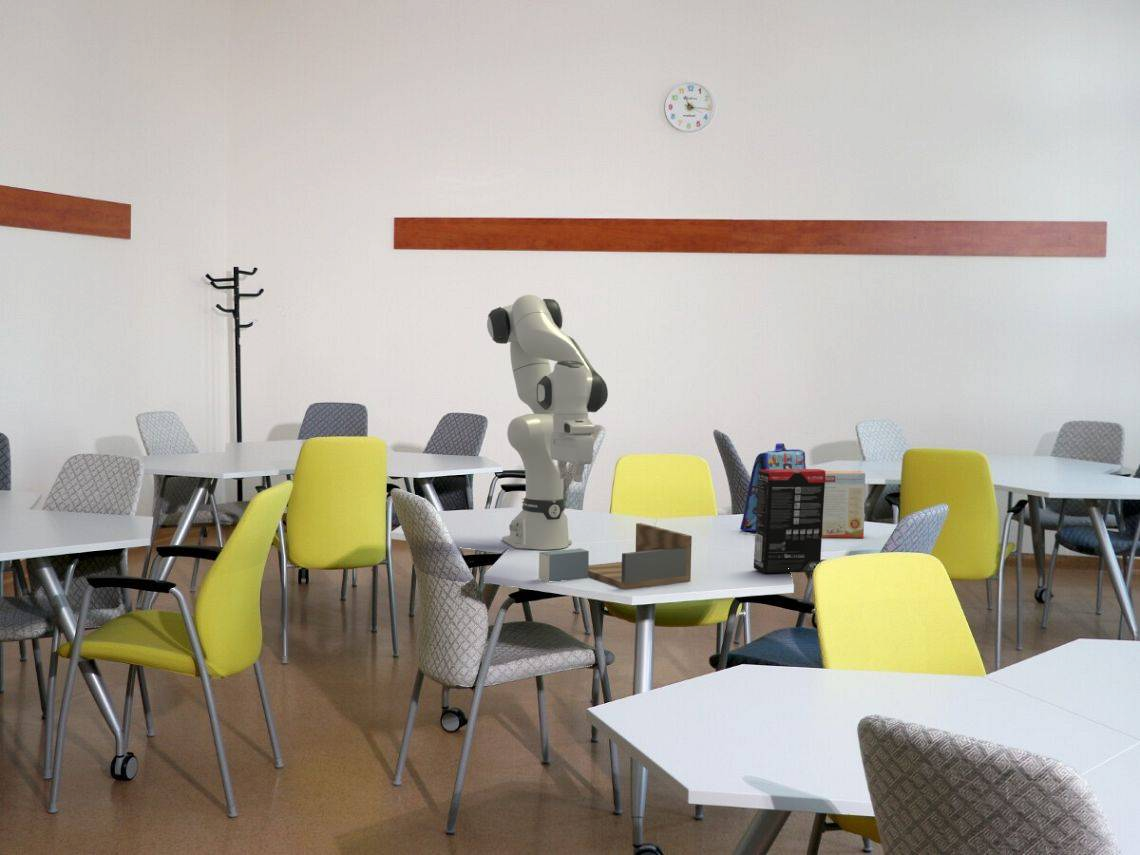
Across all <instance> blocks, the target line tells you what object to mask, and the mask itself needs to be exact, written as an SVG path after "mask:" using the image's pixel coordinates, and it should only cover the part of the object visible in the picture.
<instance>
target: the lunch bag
mask: <svg viewBox="0 0 1140 855" xmlns="http://www.w3.org/2000/svg"><path fill="white" fill-rule="evenodd" d="M764 469H807V467H806V452H805V451H803V450H802V449H797V448H796V449H794V448H793V449H791V448H790V449H787V448H786V447H785V443H783V442H780V443H779V442H777V443H776V444H775V447H774V450H769V451H766V452H761V453H758V454H757V456H756V458H755V460H754V463H753V466H752V471H751V475H750V480H749V485H748V489H747V490H748V491H747V494H746V500H745V504H744V510H743V514H742V515H743V517H742V521H741V524H740V531H744V532H745V531H749V532H753V533H754V532H755V533H756V515H757V495H758V474H759V470H764Z"/></svg>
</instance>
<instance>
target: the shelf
mask: <svg viewBox="0 0 1140 855" xmlns="http://www.w3.org/2000/svg"><path fill="white" fill-rule="evenodd" d="M692 539H693V536H692V535H690V534H686V533H682V532H679V531H674V530H669V529H665V528H661V527H659V526H658V527H657V526H655V525H651V524H646V523H642V522H638V523H635V552H641V551H650V550H660V549H670V548H680V547H684V548H687V555H686V576H681V577H672V578H664V579H656V580H647V581H639V582H631V583H623V582H621V578H622V561H617V562H607V563H599V564H590V565H589V564H588V578H591V579H595V580H598V581H600V582H603V583H605V584H606V583H607V584H609V585H611V586H615V587H617V588H619V589H623V590H631V589H637V588H638V589H639V588H645V587H647V588H648V587H654V586H662V585H663V586H664V585H670V584H671V585H672V584H679V583H688V582H692V581H691V578H692V577H691V576H692V575H691V574H692V573H691V572H692V542H693V541H692Z"/></svg>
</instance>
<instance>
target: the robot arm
mask: <svg viewBox="0 0 1140 855" xmlns="http://www.w3.org/2000/svg"><path fill="white" fill-rule="evenodd" d="M563 321H564V314H563V311H562V308H561V306H560V304H559V302H558V301H556V300H555V299H553V298H543V299H541V298H540V297H538V296H536V295H534V294H525V295H522V296H520V297H519V298H517V299H516V300H515V301H514V303H513V304H510V305H507V306H504V307H501V306H499V307H496V308H494V309H492V310H491V311H490V312H489V313H488V315H487V322H486V329H487V332H488V334H489V336H490V338H491V340H492V341H493V342H495V343H496V344H501V345H503V344H508V343H510V344H509V353H510V363H511V364H510V365H511V370H512V374H513V379H514V383H515V387H516V393H517V396H518V399H520V401H521V402H522V403H524V404H526V405H527V406H528V407H529V408H530V409H531V411H532V413H525V414H523V415H520V416H517V417H514V418H512V419H511V421H510V422H509V424H508V426H507V431H506V434H507V440H508V443H509V444H510V445H511V447H512V448H513V449H514V450H515V451H516V452H517V453H518V455H519V456H520V458H521V462H522V464H523V467H524V473H525V497H524V498H521V501H522V502H521V503H522V507H521V509H522V510H521V511H520V512H519V513H518V514H517V515H516V516H515V517H514V518H513V519H511V522H510V524H509V535H504V536H502V537H501V540H502V541H503V542H505V543H506V544H508V545H509V546H511V547H512V548H514V549H528V550H529V549H530V550H545V551H546V550H559V549H560V550H561V549H565V548H567V547H568V546H569V545H571V544H572V542H573V541H572V539H570V537H569V524H568V520H569V519H568V516H567V515H566V514H565V512H564V511H565V509H566V502H565V499H566V498H564V486H565V485H564V480H565V479H566V480H567V479H568V478H569V471H568V469H567V468H568V467H567V466H568V463H569V464H574V469H575V470H574V474H573V482H575V483H581V482H583V474H584V472H585V468H586V467H585V466H586V465H591V464H592V462H593V459H594V448H595V447H594V436H593V434H595V432H596V426H595V424H594V423H593V422H592V421H591V420H590V419H589V413H597V412H598V411H599V410H601V408H603V407H604V405H605V404H606V403H607V401H608V396H609V394H608V393H609V390H608V387H607V386H608V385H607V383H606V381H605V380H604V378H603V377H602V376H601V375H600V374H599V373H598V372H597V371H596V370H595V369H594V367H593V366H592V364H591V363H590V361H589V359H588V358H587V356H586V355H585V353H584V351H582V348H581V347H580V346H579V344H578V343H577V341H576V340H575V339H574V338H572V337H571V336H569V335H568V334H566V333H565V332H564V331H562V330H561V329H562V327H563ZM549 360H550V361H554V362H556V363H555V364H554V367H553V371H552V370H551V365H550V362H549ZM555 461H557V465H556V463H555Z"/></svg>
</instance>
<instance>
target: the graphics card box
mask: <svg viewBox="0 0 1140 855" xmlns="http://www.w3.org/2000/svg"><path fill="white" fill-rule="evenodd" d="M825 471H826V470H824V469H821V468H806V469H764V470H759V474H758V495H757V515H756V532H755V535H754V536H755V537H754V554H753V569H754V570H757V571H758V572H761V573H763V574H780V573H782V574H783V573H784V574H785V573H786V574H788V573H813V572H812V570H813V568H814V566H816V565H817V564H818V563H819V562H820V563H821V558H822V539H823V538H822V525H823V507H824V491H825V475H826V473H825ZM788 568H789V569H788Z"/></svg>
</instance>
